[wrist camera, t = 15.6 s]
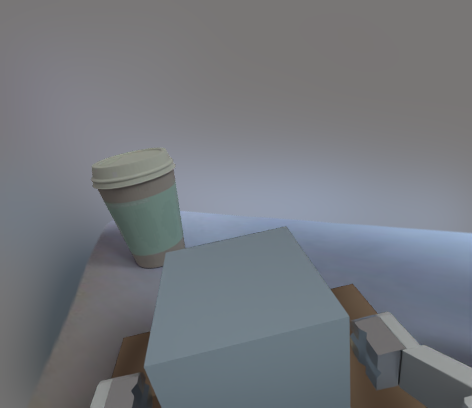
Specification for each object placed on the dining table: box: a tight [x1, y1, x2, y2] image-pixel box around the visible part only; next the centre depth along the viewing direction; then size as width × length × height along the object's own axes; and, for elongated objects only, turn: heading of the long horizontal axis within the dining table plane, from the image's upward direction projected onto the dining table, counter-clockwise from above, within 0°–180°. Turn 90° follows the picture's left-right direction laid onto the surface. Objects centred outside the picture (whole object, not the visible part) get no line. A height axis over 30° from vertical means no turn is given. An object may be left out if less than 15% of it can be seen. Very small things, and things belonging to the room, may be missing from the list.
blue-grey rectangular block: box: [144, 226, 350, 408], centre depth 11 cm, size 5×5×11 cm
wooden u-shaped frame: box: [111, 284, 427, 408], centre depth 15 cm, size 18×13×1 cm
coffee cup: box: [92, 148, 185, 268], centre depth 30 cm, size 9×8×12 cm
